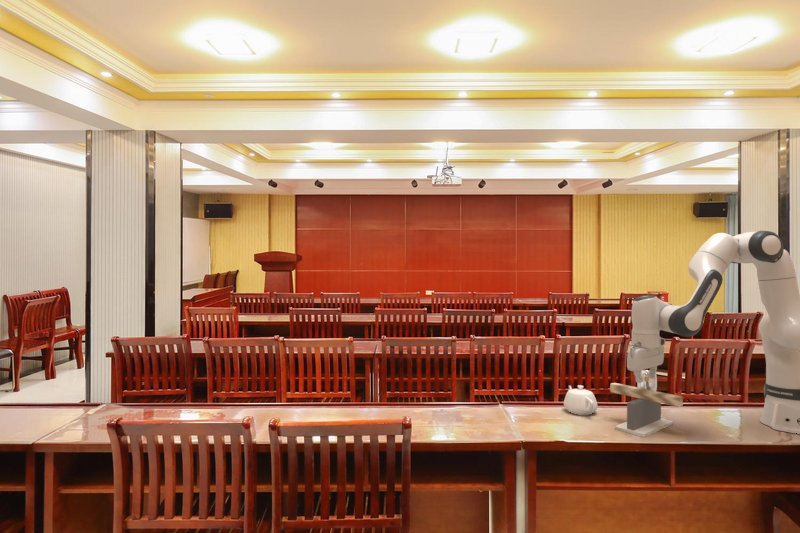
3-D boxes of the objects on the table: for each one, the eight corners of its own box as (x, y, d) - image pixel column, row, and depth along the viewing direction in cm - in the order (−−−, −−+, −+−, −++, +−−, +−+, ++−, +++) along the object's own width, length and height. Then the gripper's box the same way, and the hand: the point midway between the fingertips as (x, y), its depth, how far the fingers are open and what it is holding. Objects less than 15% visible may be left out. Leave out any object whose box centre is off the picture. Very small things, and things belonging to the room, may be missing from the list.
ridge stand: (673, 424, 177) (673, 396, 177) (643, 437, 163) (643, 407, 163) (644, 417, 185) (645, 390, 185) (614, 429, 171) (615, 400, 171)
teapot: (554, 404, 201) (554, 379, 201) (583, 403, 202) (583, 379, 202) (576, 420, 181) (576, 392, 181) (608, 419, 182) (608, 391, 182)
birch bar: (682, 405, 165) (682, 396, 165) (678, 407, 164) (679, 398, 164) (614, 390, 184) (614, 382, 184) (610, 391, 182) (610, 383, 182)
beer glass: (660, 412, 190) (660, 373, 190) (642, 412, 191) (642, 373, 191) (651, 407, 197) (651, 369, 197) (633, 407, 198) (634, 369, 197)
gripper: (640, 345, 165) (640, 386, 165) (667, 339, 177) (667, 377, 178) (621, 343, 170) (622, 383, 170) (649, 337, 182) (649, 374, 182)
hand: (645, 380), depth 174 cm, fingers open, 8 cm apart
